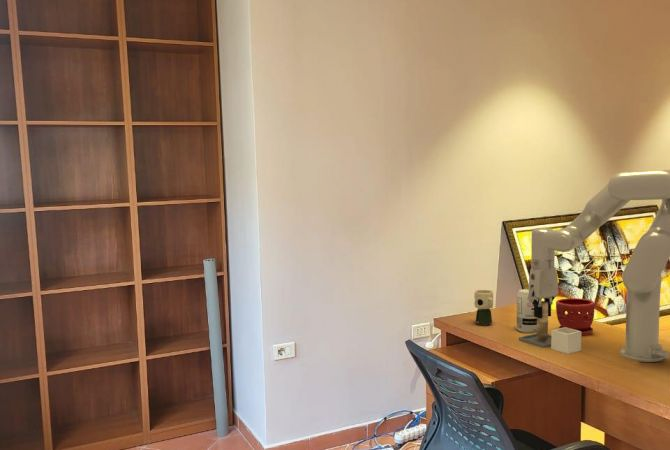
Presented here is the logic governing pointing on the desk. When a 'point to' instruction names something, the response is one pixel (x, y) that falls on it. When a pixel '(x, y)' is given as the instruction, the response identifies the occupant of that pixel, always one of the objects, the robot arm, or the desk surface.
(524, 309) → the supplement can
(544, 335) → the dowel
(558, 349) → the white open square box
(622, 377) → the desk surface
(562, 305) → the plant pot
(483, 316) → the character mug
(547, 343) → the tray
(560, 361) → the desk surface
